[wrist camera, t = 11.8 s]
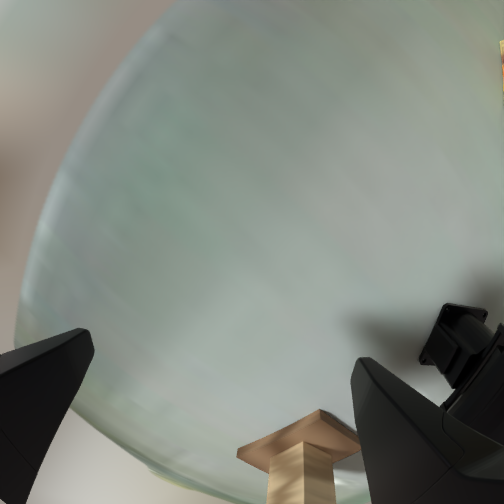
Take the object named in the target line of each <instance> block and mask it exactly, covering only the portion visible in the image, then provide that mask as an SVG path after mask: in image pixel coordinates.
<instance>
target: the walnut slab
mask: <svg viewBox="0 0 504 504" xmlns="http://www.w3.org/2000/svg"><path fill="white" fill-rule="evenodd" d="M301 442H305V443H307V444H309V445H311V446H313V447H315V448H317V449H319V450H321V451H323V452H326V453H328V454H330V455H331V457H332V463H335V462H337V461H339V460H341V459H343V458H346V457H348V456H350V455H352V454H354V453H356V452H358V451H360V450H361V446H360V442H359V437H358V436H357V435H355V434H354V433H352V432H351V431H349V430H348V429H346V428H345V427H344V426H342V425H341V424H339V423H338V422H337V421H335V420H334V419H332V418H331V417H330V416H328V415H327V414H326V413H324V412H323V411H322V410H320V409H318V410H317V411H315V412H313V413H311V414H310V415H308V416H306V417H304V418H302V419H300V420H298V421H297V422H295V423H293V424H291V425H289V426H287V427H285V428H283V429H281V430H279V431H277V432H274V433H272V434H270V435H268V436H266V437H264V438H262V439H259V440H257V441H255V442H252V443H250V444H248V445H245V446H243V447H240V448H238V451H237V456H236V457H237V458H239V459H241V460H243V461H244V462H246V463H248V464H250V465H252V466H254V467H256V468H258V469H260V470H262V471H264V472H266V473H268V474H269V469H270V458H271V457H273V456H275V455H277V454H279V453H281V452H283V451H285V450H287V449H289V448H291V447H293V446H295V445H297V444H299V443H301Z"/></svg>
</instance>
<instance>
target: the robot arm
mask: <svg viewBox="0 0 504 504" xmlns="http://www.w3.org/2000/svg"><path fill="white" fill-rule="evenodd" d="M447 308H448V309H447ZM446 309H447V310H446ZM487 315H488V312H487V311H486V310H485V309H481V308H475V307H469V306H462V305H456V304H450V303H446V304H444V305H443V307H442V309H441V312H440V314H439V316H438V319H437V321H436V323H435V326H434V328H433V330H432V333H431V335H430V337H429V339H428V341H427V343H426V345H425V347H424V349H423V351H422V353H421V355H420V357H419V360H418V361H419V363H420V364H421V365H435V366H436V367H437V369H438V370H439V372H440V373H441V374H442V375H443V376H444V377H445V379H446V380H447V382H448V383H449V385H450V387H451V388H452V389H455V390H454V392H453V393H452V394H451V395H450V396H449V398H448V399H447V400H446V401H445V402H443V403H442V404H441V405H440V407H438V406H437V405H436V404H434V403H433V402H431V401H430V400H429V399H427V398H426V397H424V396H423V395H422V394H420V393H419V392H417V391H416V390H415V389H413V388H412V387H410V386H409V385H408V384H406V383H405V382H404V381H402V380H401V379H399V378H398V377H397V376H395V375H394V374H392V373H391V372H390V371H388V370H387V369H386V368H384V367H383V366H382V365H380V364H379V363H377V362H376V361H375V360H373V359H372V358H370V357H360V358H358V359H357V360H356V363H355V366H354V370H353V373H352V376H351V390H352V399H353V408H354V417H355V424H356V428H357V433H358V437H359V442H360V446H361V451H362V455H363V460H364V465H365V470H366V475H367V480H368V485H369V491H370V496H371V502H372V504H504V324H502V323H500V324H499V326H498V328H497V331H496V333H495V334H494V333H493V332H492V331H491V330H490V329H489V328H488V327H487V326H486V325H485V324H484V322H485V320H486V317H487ZM93 356H94V346H93V342H92V338H91V334H90V332H89V331H88V330H87V329H83V328H76V329H74V330H71V331H68V332H65V333H62V334H59V335H56V336H53V337H50V338H48V339H45V340H42V341H39V342H36V343H33V344H30V345H27V346H24V347H21V348H18V349H15V350H12V351H9V352H6V353H4V354H2V355H1V354H0V499H1V500H2V501H4V502H5V503H6V504H26V502H27V499H28V496H29V494H30V491H31V488H32V486H33V484H34V481H35V479H36V476H37V472H38V471H39V469H40V466H41V464H42V462H43V460H44V457H45V455H46V453H47V451H48V449H49V446H50V444H51V442H52V440H53V438H54V436H55V434H56V432H57V430H58V428H59V426H60V424H61V422H62V420H63V418H64V416H65V414H66V412H67V410H68V408H69V407H70V405H71V403H72V401H73V399H74V397H75V395H76V394H77V392H78V390H79V388H80V386H81V383H82V381H83V379H84V377H85V374H86V372H87V370H88V367H89V365H90V363H91V361H92V358H93Z"/></svg>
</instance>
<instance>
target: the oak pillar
mask: <svg viewBox="0 0 504 504" xmlns="http://www.w3.org/2000/svg"><path fill="white" fill-rule="evenodd" d="M266 504H336V495H335V485H334V475H333V466H332V457H331V455H330V454H328V453H326V452H323V451H321V450H319V449H317V448H315V447H313V446H311V445H309V444H307V443H305V442H301V443H299V444H297V445H295V446H293V447H291V448H289V449H287V450H285V451H283V452H281V453H279V454H277V455H275V456H273V457H271V458H270V469H269V480H268V492H267V502H266Z"/></svg>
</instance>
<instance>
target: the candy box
mask: <svg viewBox="0 0 504 504" xmlns="http://www.w3.org/2000/svg"><path fill="white" fill-rule="evenodd" d="M500 49H501V58H502V70H503V89H504V40H502V41H500Z"/></svg>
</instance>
